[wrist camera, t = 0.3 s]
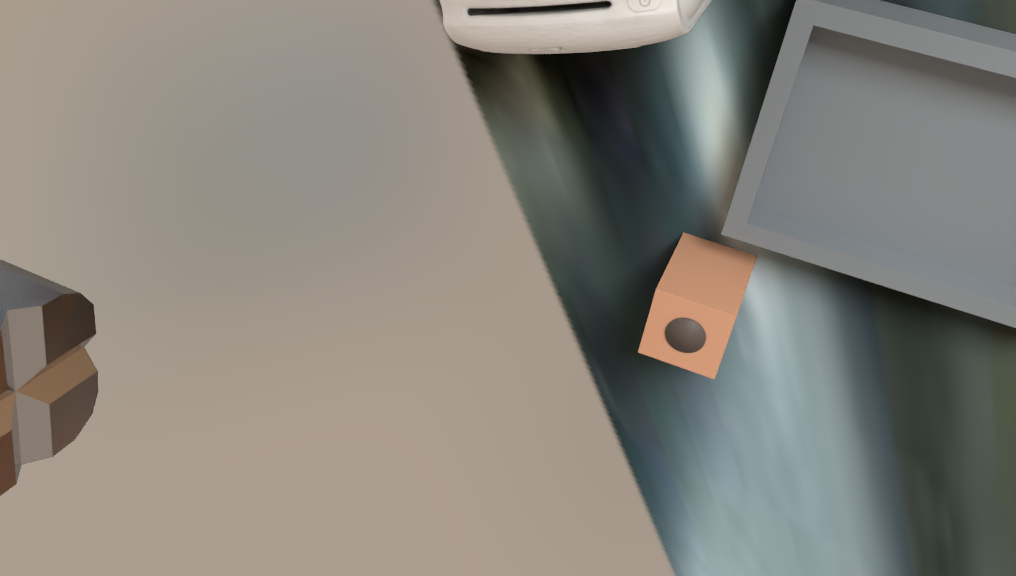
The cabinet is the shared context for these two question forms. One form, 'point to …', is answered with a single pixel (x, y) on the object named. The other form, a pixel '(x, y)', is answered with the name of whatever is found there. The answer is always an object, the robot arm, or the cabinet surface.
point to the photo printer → (567, 24)
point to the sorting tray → (889, 154)
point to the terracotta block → (696, 305)
